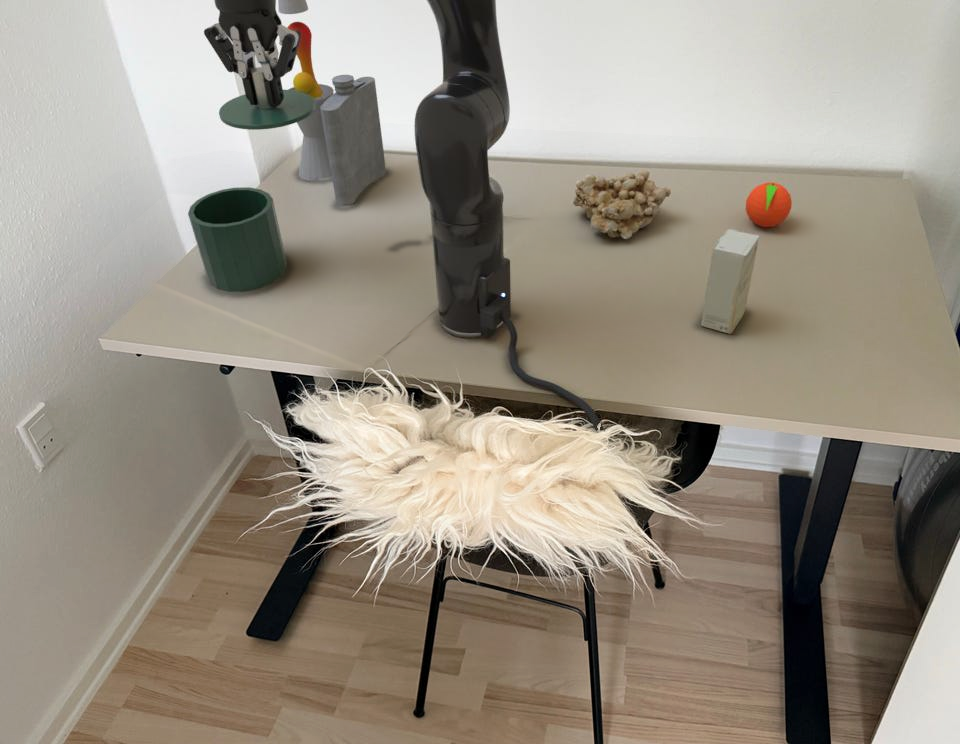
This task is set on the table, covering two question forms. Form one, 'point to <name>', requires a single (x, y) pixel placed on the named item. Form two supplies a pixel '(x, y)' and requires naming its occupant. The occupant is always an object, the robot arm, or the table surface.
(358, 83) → the hip flask
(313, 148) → the lava lamp
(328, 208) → the table surface
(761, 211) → the clementine
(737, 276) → the cosmetic box
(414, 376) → the table surface
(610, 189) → the mineral formation
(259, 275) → the open teal cylindrical container
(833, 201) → the table surface
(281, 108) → the teal disc with peg
